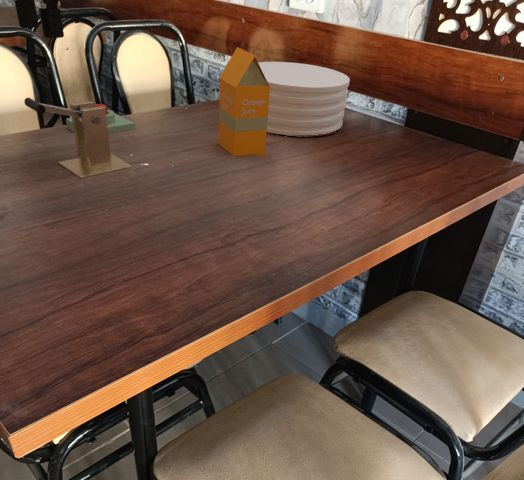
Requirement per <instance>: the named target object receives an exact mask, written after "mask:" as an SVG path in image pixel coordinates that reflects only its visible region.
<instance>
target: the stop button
mask: <svg viewBox="0 0 524 480" xmlns="http://www.w3.org/2000/svg"><path fill="white" fill-rule="evenodd" d="M94 104H95V107H105V110H106V115H107V114H108V112H107V109H108V106H107V105H106V104H103V103H94Z"/></svg>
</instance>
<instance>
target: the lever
mask: <svg viewBox="0 0 524 480" xmlns="http://www.w3.org/2000/svg"><path fill="white" fill-rule="evenodd" d="M24 105H25V106H26V107H27V108H29V109H31V110H33V111H35V112H36V113H38V114H40V115H43V114H45V113H46V112H47V113H53V114H57V115H62V116H68V117H72V116H73V117H78V120H79V121H81V122H82V117H81V109H88V108H85V107H80V109H79V111H77V110H72V109H70V108H66V107H62V106H56V105H52V104H47V103H42V102H38V101H36V100H35V99H32V98H31V97H26V98H24Z"/></svg>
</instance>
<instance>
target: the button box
mask: <svg viewBox="0 0 524 480" xmlns="http://www.w3.org/2000/svg"><path fill="white" fill-rule="evenodd" d="M107 112H108V114H107V115H106V119H107V128H108V134H112V133H119V132H124V131H131V130H135V129H136V123H135V122H133V121H131V120H130V119H127V118H126V117H123V116H121V115H119V114H118V113H115V111H114V110H111V109H108V108H107ZM65 122H66V128H67V129H68V130H69V131H71V132H73V133H74V128H73V121H72V117H68V118H65Z"/></svg>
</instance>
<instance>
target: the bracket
mask: <svg viewBox="0 0 524 480" xmlns="http://www.w3.org/2000/svg"><path fill="white" fill-rule="evenodd" d="M95 104H96V103H95V101H92V100H90V101H81V102H74V103H69V109H72V110H77V111H79V109H80V107H85V108H88V109H81V117H82V122H81V121H79V120H78V117H73V116H71V118H72V121H73V128H74V132H73V133H74V140H75V146H76V152H77V153H76V154H77V158H72V159H66V160H61V161H58V162H57V164H58V165H60V166H61V167H62V168H64V169H66V170H67V171H68V172H70V173H71V174H73V175H75V176H76V177H77V178H79V179H86V178H89V177H94V176H100V175H104V174H108V173H112V172H117V171H122V170H127V169H132V168H133V165H132V164H130V163H128V162H127V161H125V160H123V159H121V158H119V157H118V156H116V155H114V154H112V153H111V146H110V137H109V133H108V128H107V119H106V110H105V107H95Z"/></svg>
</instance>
